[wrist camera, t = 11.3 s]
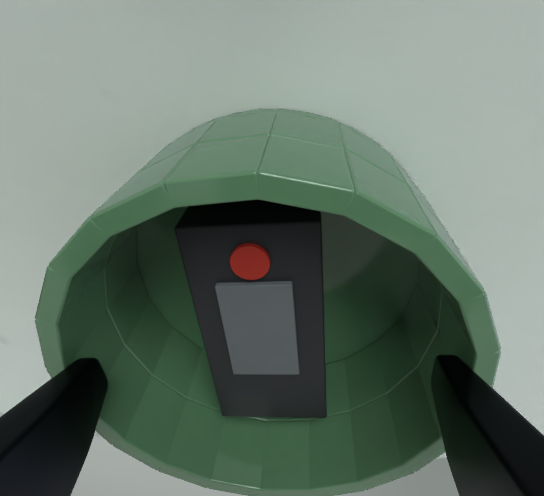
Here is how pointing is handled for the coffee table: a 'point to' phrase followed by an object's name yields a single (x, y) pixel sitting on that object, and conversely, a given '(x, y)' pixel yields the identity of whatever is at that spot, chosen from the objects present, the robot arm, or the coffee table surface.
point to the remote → (259, 304)
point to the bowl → (337, 311)
